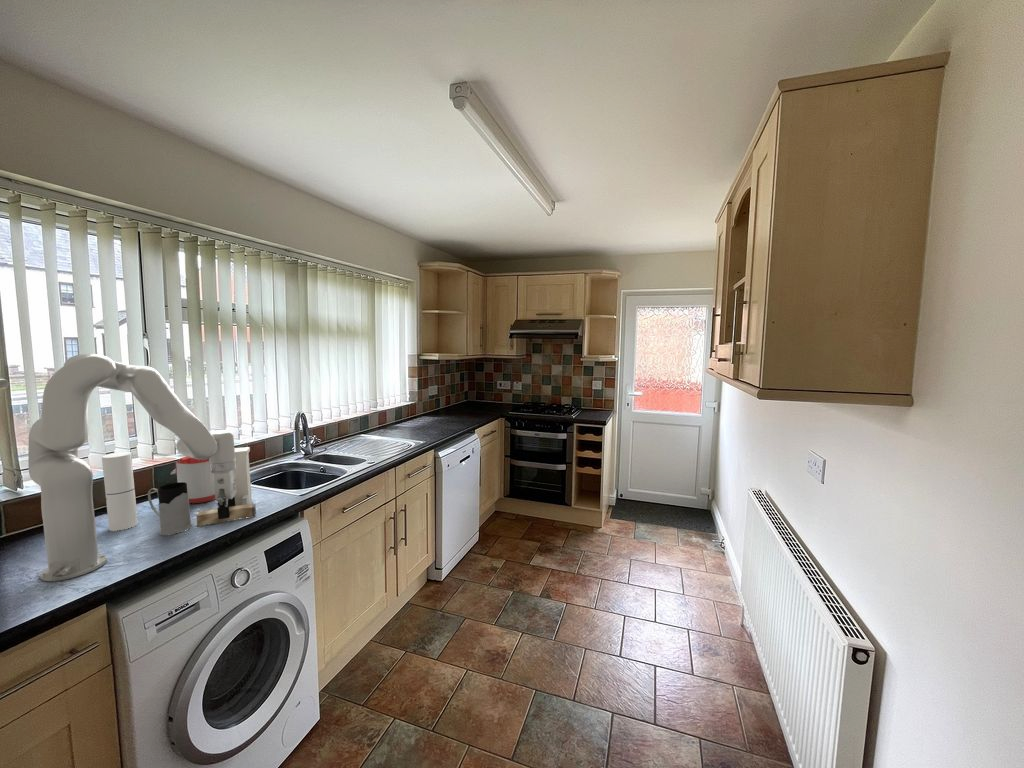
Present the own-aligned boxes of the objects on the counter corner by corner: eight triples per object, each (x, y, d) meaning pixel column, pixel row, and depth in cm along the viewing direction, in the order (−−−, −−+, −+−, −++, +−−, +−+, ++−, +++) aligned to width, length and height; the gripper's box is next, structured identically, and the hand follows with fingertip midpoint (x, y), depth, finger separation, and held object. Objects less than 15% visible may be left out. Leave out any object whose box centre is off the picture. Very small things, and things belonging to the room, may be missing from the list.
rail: (197, 526, 141) (196, 515, 141) (200, 522, 145) (199, 511, 145) (254, 517, 149) (254, 506, 148) (256, 513, 152) (255, 503, 152)
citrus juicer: (179, 496, 170) (175, 448, 168) (230, 489, 177) (226, 444, 175) (167, 509, 156) (162, 457, 154) (222, 502, 163) (218, 452, 161)
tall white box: (248, 509, 155) (244, 453, 153) (218, 513, 152) (214, 456, 150) (253, 500, 165) (249, 446, 163) (225, 503, 161) (221, 449, 159)
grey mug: (174, 536, 134) (170, 491, 133) (138, 533, 136) (133, 488, 135) (199, 524, 143) (195, 482, 141) (164, 522, 145) (160, 480, 144)
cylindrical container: (120, 532, 137) (112, 458, 135) (103, 530, 139) (95, 457, 136) (143, 523, 144) (136, 452, 142) (127, 521, 146) (120, 451, 143)
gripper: (230, 471, 139) (234, 520, 141) (240, 458, 154) (244, 502, 156) (203, 474, 136) (208, 524, 138) (216, 461, 151) (220, 506, 153)
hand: (227, 512), depth 147 cm, fingers open, 9 cm apart
